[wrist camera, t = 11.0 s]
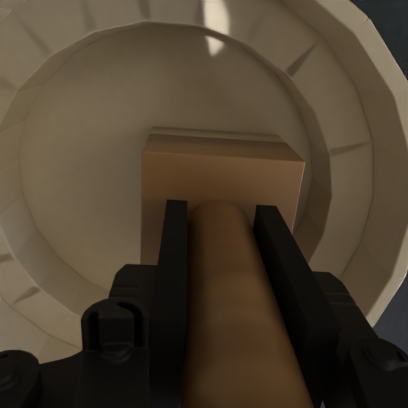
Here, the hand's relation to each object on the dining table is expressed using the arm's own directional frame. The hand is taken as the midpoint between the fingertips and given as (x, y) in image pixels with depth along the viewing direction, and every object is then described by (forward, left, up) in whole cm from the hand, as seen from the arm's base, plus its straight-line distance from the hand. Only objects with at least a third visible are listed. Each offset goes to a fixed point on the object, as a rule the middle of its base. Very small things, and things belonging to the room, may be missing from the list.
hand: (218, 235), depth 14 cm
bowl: (0, -2, -6) cm, 6 cm away
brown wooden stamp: (0, 0, -5) cm, 5 cm away
